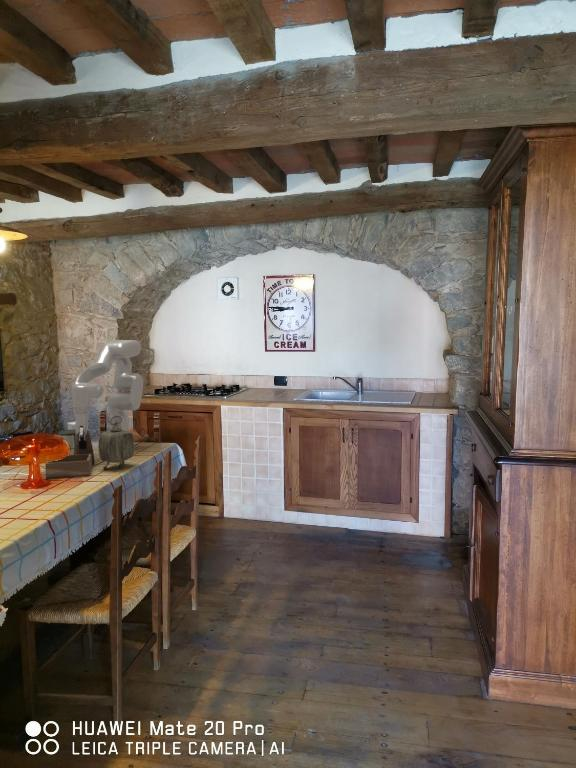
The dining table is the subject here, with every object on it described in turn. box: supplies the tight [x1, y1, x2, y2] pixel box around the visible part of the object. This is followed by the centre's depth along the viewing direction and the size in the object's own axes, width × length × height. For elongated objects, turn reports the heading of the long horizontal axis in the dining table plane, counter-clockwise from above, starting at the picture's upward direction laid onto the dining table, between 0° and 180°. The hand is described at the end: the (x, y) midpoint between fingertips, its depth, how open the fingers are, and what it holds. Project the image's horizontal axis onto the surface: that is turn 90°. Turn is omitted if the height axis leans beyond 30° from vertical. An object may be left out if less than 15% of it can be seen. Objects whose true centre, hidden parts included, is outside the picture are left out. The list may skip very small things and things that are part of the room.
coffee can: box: [57, 429, 76, 455], centre depth 266 cm, size 10×10×14 cm
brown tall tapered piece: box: [74, 429, 96, 467], centre depth 252 cm, size 9×8×25 cm
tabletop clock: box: [97, 416, 135, 470], centre depth 247 cm, size 14×9×25 cm, turn 149°
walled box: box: [44, 454, 93, 480], centre depth 239 cm, size 14×18×7 cm
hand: (83, 447), depth 252 cm, fingers closed on brown tall tapered piece, 5 cm apart
